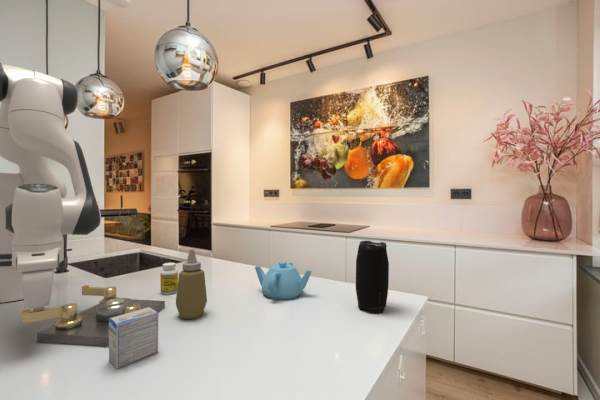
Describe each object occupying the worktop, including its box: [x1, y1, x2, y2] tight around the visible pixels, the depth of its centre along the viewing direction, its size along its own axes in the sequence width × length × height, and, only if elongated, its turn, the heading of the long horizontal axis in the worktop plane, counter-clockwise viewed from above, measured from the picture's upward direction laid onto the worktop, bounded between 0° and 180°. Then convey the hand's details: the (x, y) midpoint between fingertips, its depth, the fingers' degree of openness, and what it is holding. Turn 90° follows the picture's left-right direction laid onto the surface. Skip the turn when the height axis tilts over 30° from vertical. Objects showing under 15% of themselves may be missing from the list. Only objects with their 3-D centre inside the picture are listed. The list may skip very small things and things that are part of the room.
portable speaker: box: [355, 240, 390, 315], centre depth 86 cm, size 9×9×20 cm
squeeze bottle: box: [175, 248, 208, 320], centre depth 80 cm, size 8×8×18 cm
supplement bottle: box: [160, 262, 179, 296], centre depth 99 cm, size 5×5×10 cm
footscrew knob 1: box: [21, 302, 82, 329], centre depth 67 cm, size 10×5×5 cm, turn 125°
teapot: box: [254, 260, 313, 301], centre depth 99 cm, size 15×15×11 cm
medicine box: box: [108, 307, 160, 370], centre depth 59 cm, size 8×4×9 cm, turn 141°
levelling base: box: [36, 297, 166, 348], centre depth 75 cm, size 17×22×6 cm
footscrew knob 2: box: [81, 284, 120, 304], centre depth 82 cm, size 10×5×5 cm, turn 85°
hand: (39, 315), depth 67 cm, fingers closed
